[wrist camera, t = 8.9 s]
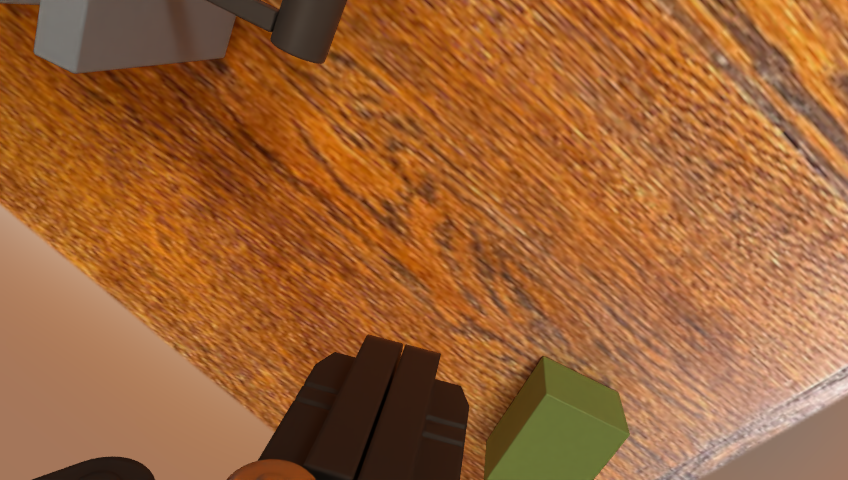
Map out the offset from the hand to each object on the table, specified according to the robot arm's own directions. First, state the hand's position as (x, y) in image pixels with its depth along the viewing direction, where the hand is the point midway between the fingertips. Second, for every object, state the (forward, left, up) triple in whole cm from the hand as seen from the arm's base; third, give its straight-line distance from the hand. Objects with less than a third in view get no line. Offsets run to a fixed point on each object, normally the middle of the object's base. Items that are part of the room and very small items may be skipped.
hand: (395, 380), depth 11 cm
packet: (-11, -3, -13) cm, 17 cm away
